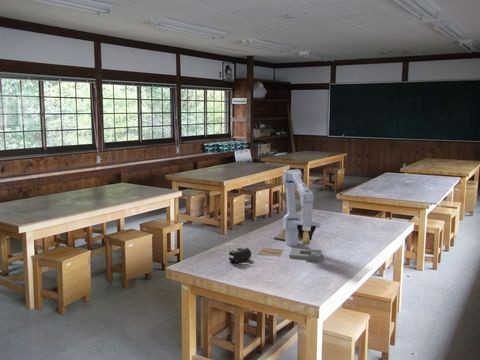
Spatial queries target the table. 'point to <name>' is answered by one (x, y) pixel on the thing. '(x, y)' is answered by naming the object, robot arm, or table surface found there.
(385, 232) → the table surface
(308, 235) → the brass peg
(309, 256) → the grey square socket plate
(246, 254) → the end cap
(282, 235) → the embossing press
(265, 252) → the stand pad
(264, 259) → the table surface
